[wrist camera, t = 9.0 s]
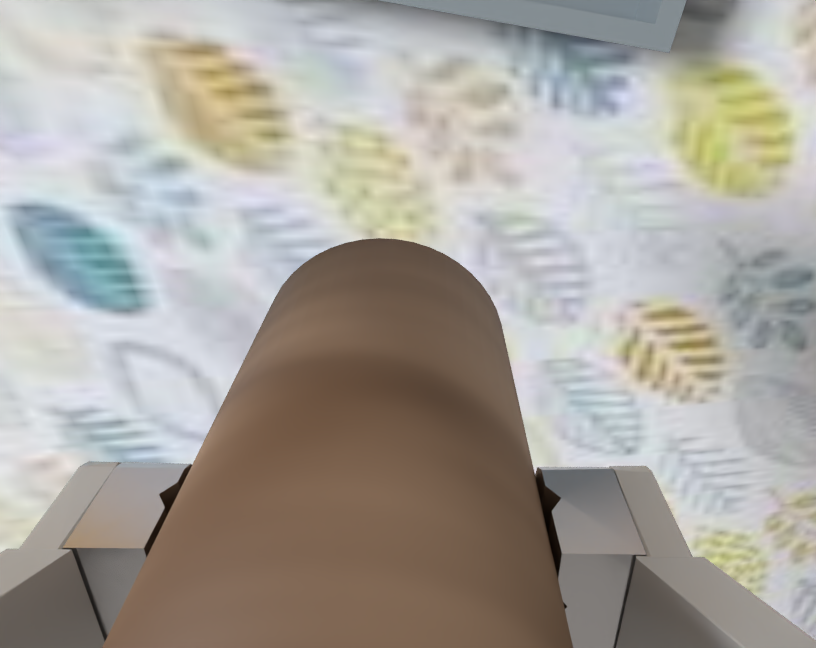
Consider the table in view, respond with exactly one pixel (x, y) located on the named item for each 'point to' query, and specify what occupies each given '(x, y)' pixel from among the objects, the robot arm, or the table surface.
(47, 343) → the table surface
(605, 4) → the tray
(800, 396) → the table surface
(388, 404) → the shaker
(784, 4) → the table surface
